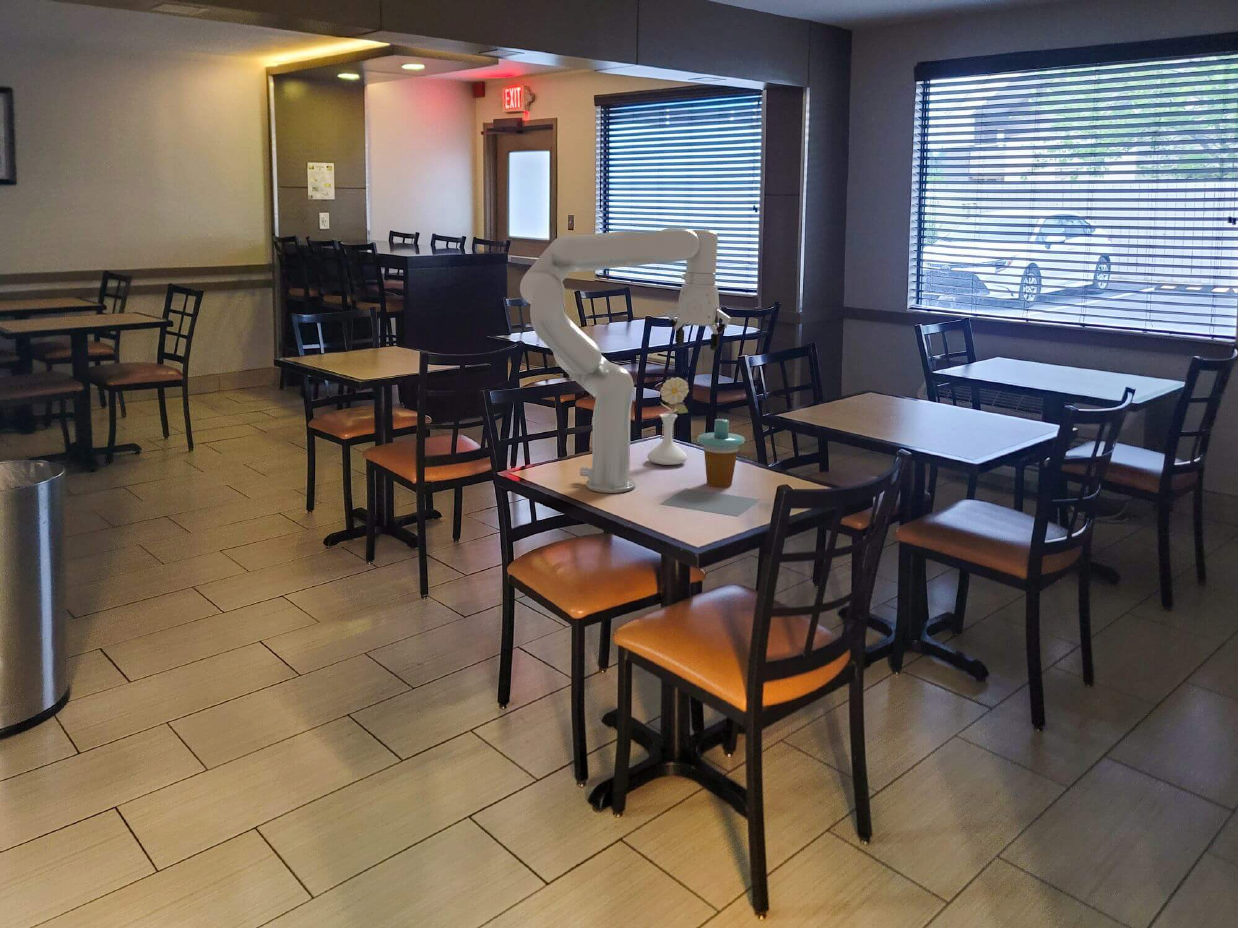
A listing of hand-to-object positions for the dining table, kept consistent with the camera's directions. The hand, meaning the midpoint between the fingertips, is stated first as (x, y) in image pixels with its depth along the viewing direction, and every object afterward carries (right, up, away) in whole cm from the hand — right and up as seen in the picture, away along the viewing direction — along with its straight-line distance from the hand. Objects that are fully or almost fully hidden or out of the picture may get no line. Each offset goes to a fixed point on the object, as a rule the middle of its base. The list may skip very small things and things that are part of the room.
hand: (696, 347), depth 255 cm
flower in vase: (-6, -30, +25) cm, 40 cm away
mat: (+2, -40, -13) cm, 42 cm away
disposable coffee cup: (+6, -36, +3) cm, 37 cm away
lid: (+6, -24, 0) cm, 25 cm away
